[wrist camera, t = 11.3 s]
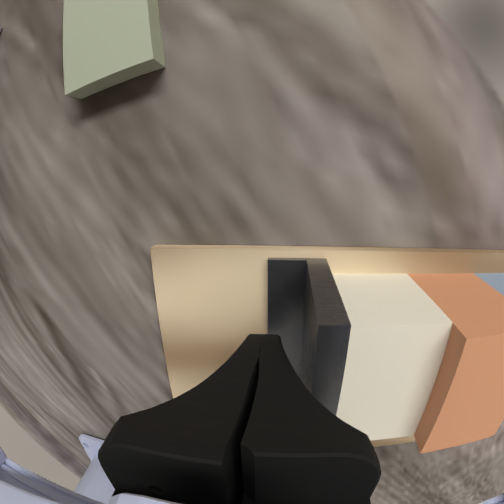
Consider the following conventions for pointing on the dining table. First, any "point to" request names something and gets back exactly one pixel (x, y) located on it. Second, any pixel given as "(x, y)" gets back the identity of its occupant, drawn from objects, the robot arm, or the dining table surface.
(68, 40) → the flat book
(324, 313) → the bookend
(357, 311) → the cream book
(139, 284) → the dining table surface
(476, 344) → the terracotta cube
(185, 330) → the shelf board
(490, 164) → the dining table surface
